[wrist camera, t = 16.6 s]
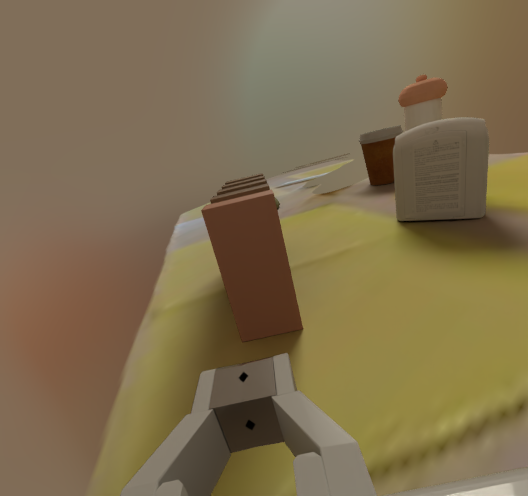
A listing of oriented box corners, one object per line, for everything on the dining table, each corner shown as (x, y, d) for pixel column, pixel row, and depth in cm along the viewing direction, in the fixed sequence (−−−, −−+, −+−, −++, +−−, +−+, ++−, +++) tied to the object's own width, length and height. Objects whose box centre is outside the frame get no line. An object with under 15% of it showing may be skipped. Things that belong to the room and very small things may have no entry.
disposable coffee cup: (368, 189, 64) (362, 134, 60) (360, 183, 73) (355, 135, 69) (412, 180, 62) (409, 123, 58) (398, 175, 71) (395, 125, 67)
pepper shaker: (396, 193, 55) (388, 86, 48) (433, 185, 54) (430, 75, 48) (416, 199, 48) (410, 75, 42) (458, 189, 47) (459, 62, 41)
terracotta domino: (303, 329, 22) (273, 193, 18) (242, 342, 22) (201, 210, 19) (299, 315, 24) (271, 189, 20) (243, 327, 24) (206, 205, 21)
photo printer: (484, 209, 36) (488, 108, 32) (487, 220, 33) (492, 108, 29) (399, 215, 42) (393, 129, 38) (394, 224, 39) (387, 132, 35)
